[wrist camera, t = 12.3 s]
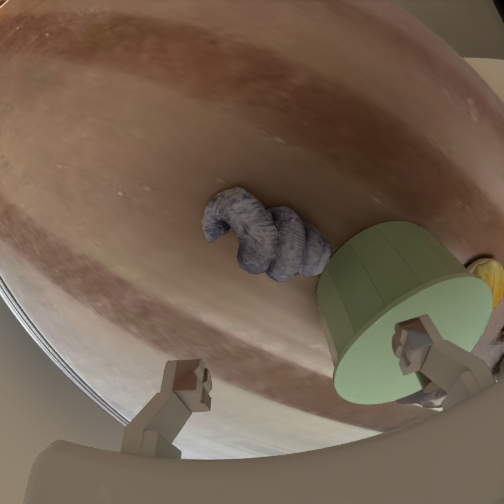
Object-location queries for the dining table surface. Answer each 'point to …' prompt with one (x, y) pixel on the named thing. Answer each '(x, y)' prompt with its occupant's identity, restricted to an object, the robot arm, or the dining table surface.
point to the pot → (376, 276)
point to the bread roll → (490, 276)
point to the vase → (501, 370)
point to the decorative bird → (425, 398)
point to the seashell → (266, 236)
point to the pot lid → (382, 329)
